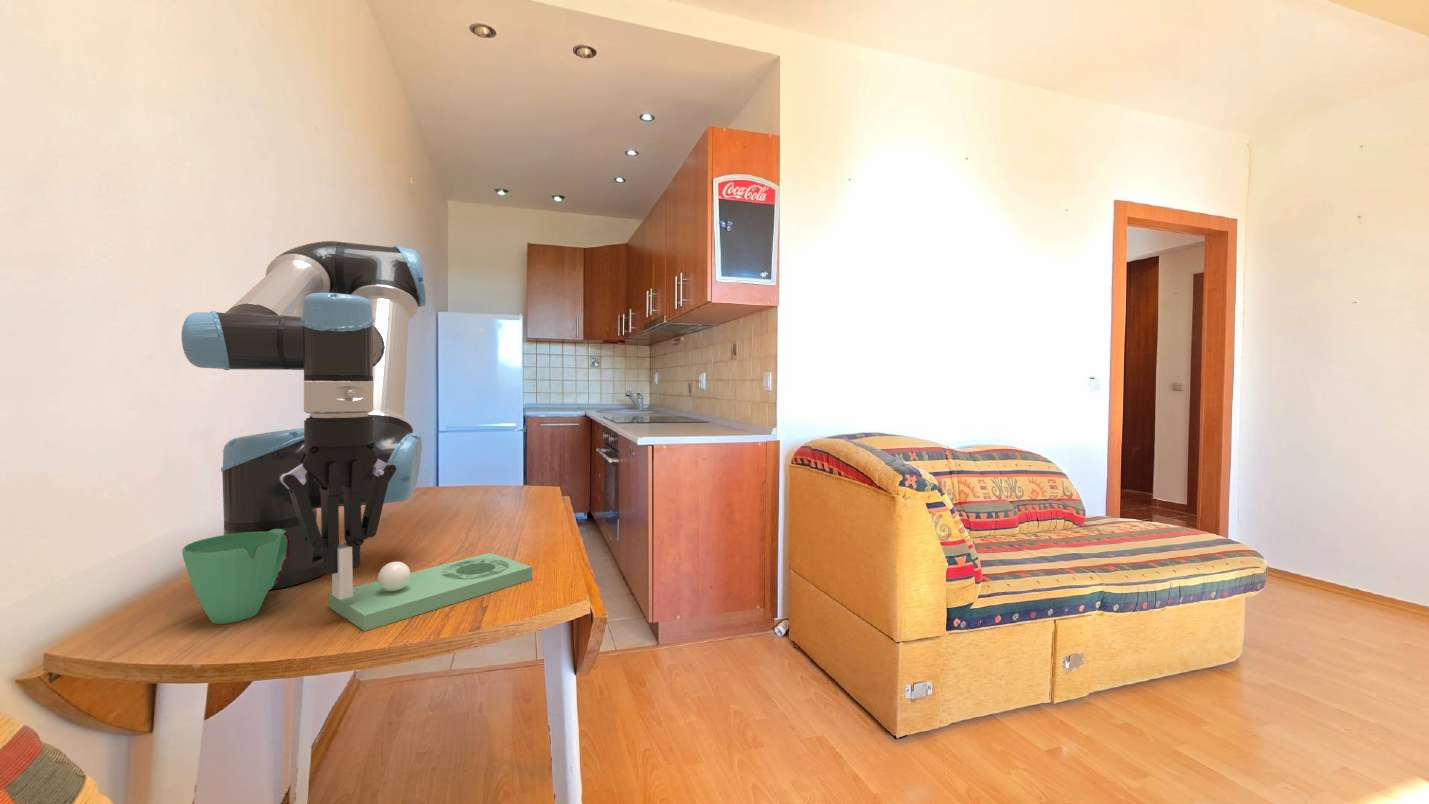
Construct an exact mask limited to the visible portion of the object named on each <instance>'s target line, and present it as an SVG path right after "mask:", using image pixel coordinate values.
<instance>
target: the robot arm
mask: <svg viewBox="0 0 1429 804" xmlns="http://www.w3.org/2000/svg"><path fill="white" fill-rule="evenodd" d="M422 264H423V263H422V260H421V256H420V254H419V252H417V251H416V250H414V249H412V248H408V247H407V248H406V247H400V246H397V245H394V246H383V245H372V244H366V243H365V244H363V243H355V242H353V243H352V242H343V241H334V240H327V241H325V240H323V241H317V242H310V243H306V244H303V245H298V246H297V247H294V248H291V249H289V250H286V251H284V252H283V253H280V254H279V255H278V256H276V257H275V258H274V259H273V260H271V261H270V263H269V264H268V265H267V267H266V271H265V276H264V277H263V278H261V280H260V281H259V282H258V283H257V284H255V286H253V287H252V288H250V290H249V291H247V293H246V294H244V295H243V296H242V297H241V298H240V299H239V300H238V301H237V302H236V303H235V304H233V305H232V306H231V307H230V308H229V309H228V310H226V311H225V312H219V311H214V310H213V311H210V312H209V311H203V312H201V311H197V312H192V313H190V314H188V316H187V317H186V318H185V319H184V321H183V325H182V328H181V344H182V349H183V354H184V355H185V357H186V359H187V361H188V362H189V363H190V364H191V365H193V366H194V367H197V368H200V369H217V370H218V369H221V370H225V371H229V370H253V371H254V370H255V371H256V370H263V371H265V370H270V371H271V370H272V371H273V370H275V371H276V370H277V371H279V370H280V371H281V370H285V371H286V370H287V371H288V370H291V371H303V411H304V413H306V414H309V417H306V418H305V419H304V420H303V422H304V423H303V426H304V427H303V428H300V427H299V428H294V429H293V428H292V429H285V430H279V431H278V430H275V431H270V432H263V433H262V432H261V433H257V434H251V435H244V436H243V435H242V436H239V437H235V438H231V439H230V440H228V442H226V443H225V445H224V446H223V451H222V452H223V453H222V467H221V468H220V472H222V502H223V503H222V506H223V508H222V509H223V535H229V534H236V533H246V532H268V531H270V530H273V529H283V530H285V531H286V533H287V534H288V535H289V537H290V547H289V557H288V560H287V562H286V564H285V566H284V568H283V570H282V572H281V574H280V576H279V579H278V581H277V582H276V583H275V585H274V586H273V587H272V588H271V589H270V590H277V589H282V588H285V587H292V586H294V585H298V584H303V583H305V582H309V581H311V580H314V579H317V578H319V577H321V576H323V575H325V574H327V575H331V583H332V584H331V588H332V589H331V590H332V595H333V596H335V597H336V598H338V599H339V600H341V599H345V598H349V597H353V587H354V586H353V585H354V584H353V583H354V581H353V580H354V578H353V577H354V576H353V575H354V574H353V572H354V571H353V570H356V569H359V568H360V566H361V546H362V545H363V544H364V541H365V540H367V539H369V538H374V537H375V536H376V535H377V531H378V528H379V523H380V519H381V515H382V511H383V508H384V507H383V506H384V505H386V504H391V503H392V504H393V503H399V502H405V501H406V500H408V499H409V498H411V497H412V496H413V494H414V492H415V490H416V487H417V483H418V479H419V474H420V468H421V461H422V460H421V457H422V450H423V449H422V448H423V446H422V445H423V444H422V437H421V435H420V434H418V433H415V432H414V428H413V425H412V423H410V422H409V421H408V420H406V419H405V401H406V378H407V361H408V359H407V358H408V340H409V339H408V338H409V336H408V335H409V334H408V333H409V320H411V319H413V317H415V316H416V315H417V312H418V309H419V308H422V307H425V306H426V305H427V297H426V288H425V287H426V286H425V281H424V273H423V265H422ZM362 506H365V507H364V510H363V514H362ZM339 507H343V527H344V529H343V530H344V531H343V533H344V535H343V536H344V537H343V538H344V541H345V542H344V543H343V542H342V543H340V523H339V522H340V519H339V518H340V517H339V514H340V512H339V510H340V509H339ZM318 509H321V510H320V513H321V515H320V517H321V518H320V519H321V520H320V522H321V524H320V527H321V528H320V527H319V523H318ZM270 590H269V591H270Z"/></svg>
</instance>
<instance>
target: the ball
mask: <svg viewBox="0 0 1429 804" xmlns="http://www.w3.org/2000/svg"><path fill="white" fill-rule="evenodd" d="M410 576H411V570H410V567H409V565H407V564H406V563H404V562H402V561H391V562H389V563H386V564H385V565H383V566H382V567H381V569H380V570H379V571H378V574H377V581H378V584H379V585H380V587H381V588H382V589H384V590H386V591H390V592H393V591H398V590H400V589H402V588H404V587H405V586H406V585H407V583H408V582H409V580H410Z"/></svg>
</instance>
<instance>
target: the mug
mask: <svg viewBox="0 0 1429 804" xmlns="http://www.w3.org/2000/svg"><path fill="white" fill-rule="evenodd" d="M289 547H290V537H289V535H288V534H287V533H286V531H285V530H283V529H273V530H270V531H268V532H246V533H236V534H229V535H224V534H223V535H216V536H212V537H207V538H203V539H200V540H197V541H194V542H191V543H189V544H186V545H184V547H183V548H182V557H183V561H184V564H185V568H186V570H187V573H188V577H189V580H190V583H191V585H192V588H193V591H194V593H195V595H196V598H197V599H198V602H199V603H200V606H201V608H202V609H203V611H204V612H205V614H206V616H207V617H208V619H209V621H210V622H211V623H212V624H217V625H225V624H231V623H233V624H234V623H236V622H241V621H244V620H248V619H250V618H253V617H254V616H256V615H257V614H258V613H259V611H260V609H261V607H262V604H263V602H264V600H265V598H266V597H267V596H266V595H267V594H268V592H269V591H270V589H271V588H272V587H273V586H274V585H275V583H276V582H277V581H278V579H279V576H280V574H281V572H282V570H283V568H284V566H285V564H286V562H287V560H288V557H289Z"/></svg>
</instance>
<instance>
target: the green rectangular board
mask: <svg viewBox="0 0 1429 804" xmlns="http://www.w3.org/2000/svg"><path fill="white" fill-rule="evenodd" d="M410 573H411V576H410V580H409V582H408V583H407V585H406V586H405V587H404V588H402V589H400V590H398V591H393V592H390V591H386V590H384V589H382V588H381V587H380V585H379V584H378V580H377V581H371V582H368V583H364V584H359V585H357V586H353V597H349V598H345V599H341V600H339V599H338V598H336V597H335V596H333V595H332V592H329V593H328V607H329V609H331V610H333V611H334V612H336V613H337V614H338V615H340V616H341V617H343V618H344V619H346V620H347V621H349V622H350V623H352V624H353V625H354V626H356V627H358V628H359V629H360V630H362V631H363V632H366V631H367V632H368V631H370V630H373V629H377V628H380V627H383V626H386V625H390V624H393V623H395V622H399V621H403V620H405V619H409V618H412V617H414V616H415V617H416V616H418V615H421V614H425V613H427V612H431V611H434V610H439V609H441V608H445V607H447V606H451V605H454V604H457V603H460V602H464V601H467V600H469V599H474V598H476V597H480V596H482V595H486V594H489V593H493V592H496V591H499V590H503V589H506V588H509V587H512V586H514V585H515V586H516V585H518V584H522V583H525V582H529V581H531V580H533V566H530V565H527V564H524V563H521V562H519V561H516V560H513V559H510V558H508V557H505V556H502V555H499V554H495V553H492V552H488V553H485V554H480V555H475V556H471V557H468V558H464V559H460V560H456V561H452V562H449V563H443V564H441V565H436V566H432V567H428V568H423V569H420V570H416V571H412V572H411V571H410Z"/></svg>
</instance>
